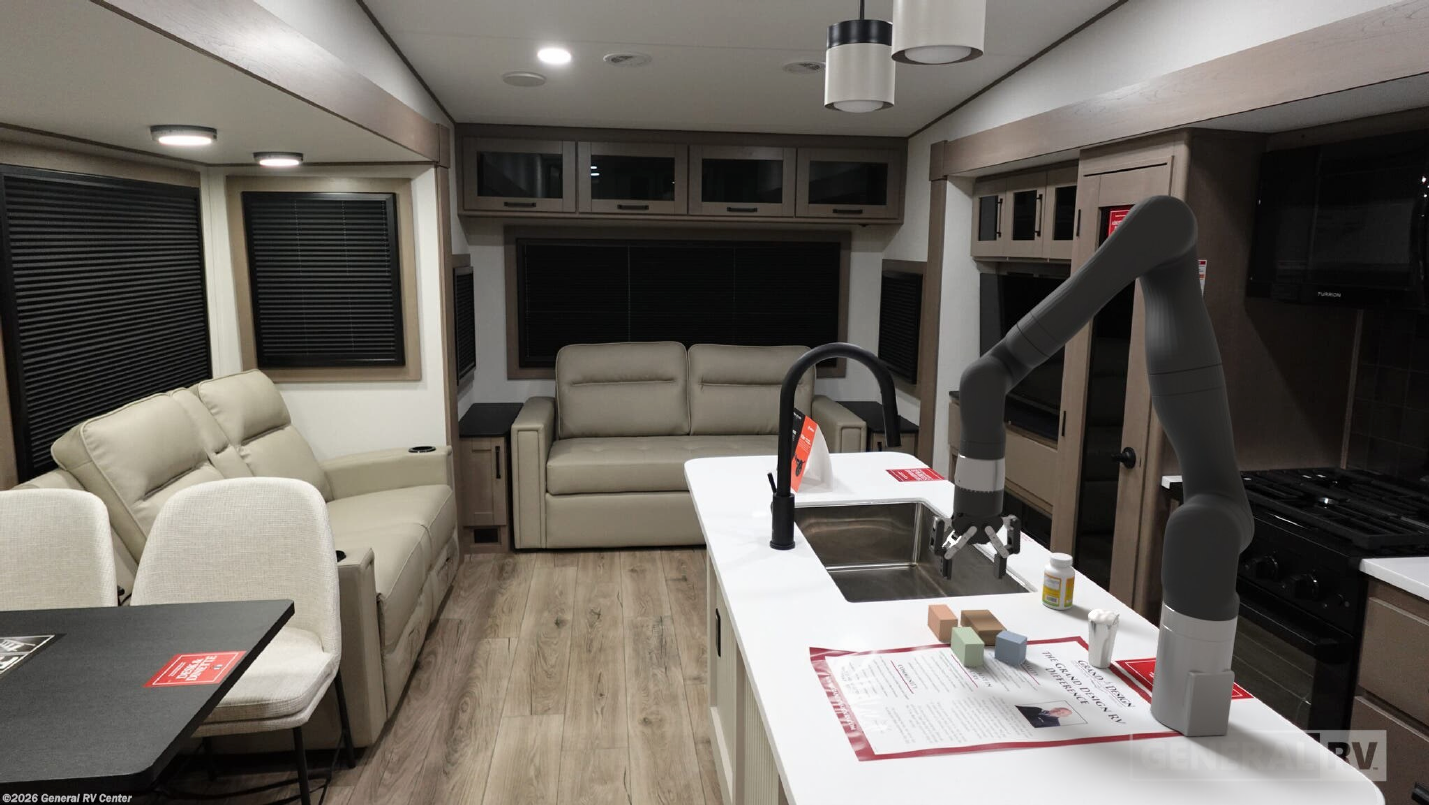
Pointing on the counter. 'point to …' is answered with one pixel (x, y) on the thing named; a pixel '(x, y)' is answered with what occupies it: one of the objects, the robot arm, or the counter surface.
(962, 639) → the sage brick
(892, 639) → the counter surface
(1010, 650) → the slate brick
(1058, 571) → the supplement bottle
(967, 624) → the walnut block
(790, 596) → the counter surface
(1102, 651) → the milkshake
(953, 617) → the terracotta brick
